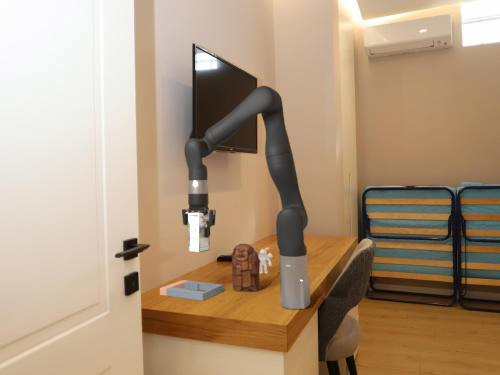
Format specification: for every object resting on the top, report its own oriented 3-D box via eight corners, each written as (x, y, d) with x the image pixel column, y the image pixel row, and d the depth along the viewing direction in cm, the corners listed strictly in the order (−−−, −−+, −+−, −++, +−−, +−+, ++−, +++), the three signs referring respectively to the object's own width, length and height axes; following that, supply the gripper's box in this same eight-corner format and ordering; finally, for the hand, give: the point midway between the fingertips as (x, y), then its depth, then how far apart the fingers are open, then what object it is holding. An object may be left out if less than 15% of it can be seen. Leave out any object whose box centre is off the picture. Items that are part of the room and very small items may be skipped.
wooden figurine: (228, 291, 153) (227, 244, 153) (233, 286, 159) (232, 242, 159) (257, 292, 150) (256, 245, 150) (262, 288, 156) (260, 242, 156)
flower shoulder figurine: (273, 272, 183) (273, 246, 183) (272, 274, 179) (271, 248, 179) (255, 271, 185) (254, 246, 185) (252, 273, 181) (252, 247, 181)
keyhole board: (223, 290, 154) (223, 284, 154) (202, 300, 141) (202, 293, 141) (182, 285, 163) (182, 279, 163) (159, 294, 151) (159, 288, 151)
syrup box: (199, 249, 152) (198, 211, 151) (210, 250, 148) (209, 211, 148) (188, 251, 147) (187, 212, 147) (199, 252, 143) (198, 213, 143)
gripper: (220, 192, 147) (220, 236, 148) (188, 192, 154) (189, 234, 154) (209, 192, 141) (209, 239, 141) (176, 192, 147) (177, 237, 147)
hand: (199, 236), depth 147 cm, fingers closed on syrup box, 6 cm apart
